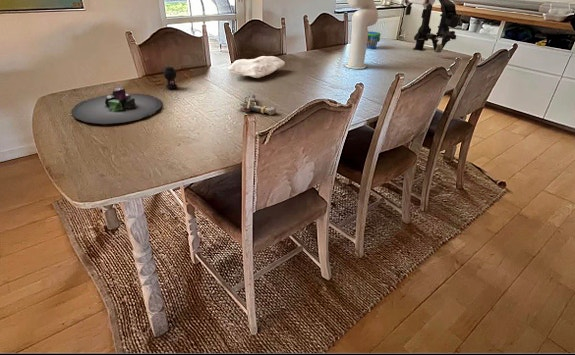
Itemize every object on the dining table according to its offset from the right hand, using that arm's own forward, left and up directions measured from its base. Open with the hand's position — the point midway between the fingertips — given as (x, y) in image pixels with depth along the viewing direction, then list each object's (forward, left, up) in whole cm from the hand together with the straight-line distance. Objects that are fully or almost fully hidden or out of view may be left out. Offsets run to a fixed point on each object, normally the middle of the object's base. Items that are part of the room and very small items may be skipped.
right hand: (437, 50), depth 241 cm
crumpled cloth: (+111, -64, -5) cm, 128 cm away
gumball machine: (+156, -79, -5) cm, 174 cm away
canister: (0, 0, -1) cm, 1 cm away
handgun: (+146, -32, -5) cm, 150 cm away
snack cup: (+6, -45, -5) cm, 46 cm away
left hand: (+61, +1, +27) cm, 67 cm away
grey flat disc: (+186, -74, -5) cm, 201 cm away
